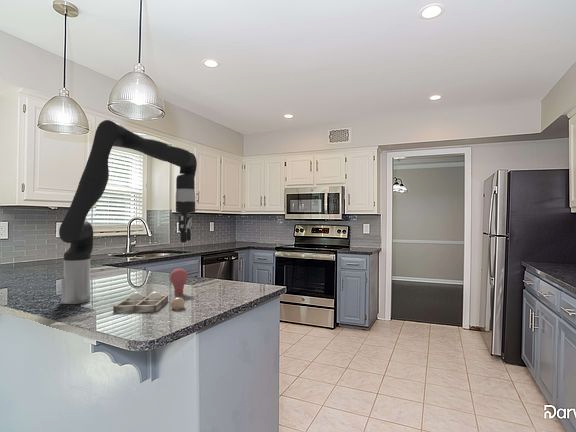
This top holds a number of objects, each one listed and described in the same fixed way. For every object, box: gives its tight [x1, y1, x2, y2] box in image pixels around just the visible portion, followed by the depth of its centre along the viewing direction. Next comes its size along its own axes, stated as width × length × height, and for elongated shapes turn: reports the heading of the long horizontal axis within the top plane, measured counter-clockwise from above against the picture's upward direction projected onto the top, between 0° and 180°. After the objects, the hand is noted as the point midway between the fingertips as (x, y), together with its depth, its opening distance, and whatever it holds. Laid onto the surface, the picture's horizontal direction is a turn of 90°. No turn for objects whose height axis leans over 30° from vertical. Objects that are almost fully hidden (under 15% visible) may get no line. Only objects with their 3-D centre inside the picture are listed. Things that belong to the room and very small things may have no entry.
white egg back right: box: [147, 290, 162, 300], centre depth 131 cm, size 5×5×5 cm
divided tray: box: [112, 295, 169, 314], centre depth 128 cm, size 15×15×3 cm
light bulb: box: [169, 268, 188, 296], centre depth 147 cm, size 7×7×12 cm
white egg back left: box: [129, 291, 144, 301], centre depth 131 cm, size 5×5×5 cm
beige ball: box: [170, 296, 186, 311], centre depth 125 cm, size 5×5×5 cm
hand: (185, 241), depth 135 cm, fingers open, 8 cm apart
